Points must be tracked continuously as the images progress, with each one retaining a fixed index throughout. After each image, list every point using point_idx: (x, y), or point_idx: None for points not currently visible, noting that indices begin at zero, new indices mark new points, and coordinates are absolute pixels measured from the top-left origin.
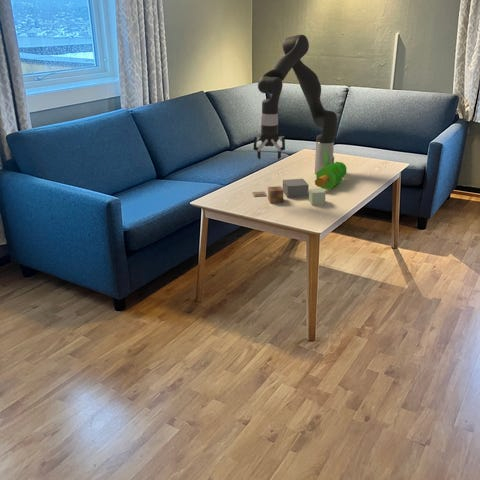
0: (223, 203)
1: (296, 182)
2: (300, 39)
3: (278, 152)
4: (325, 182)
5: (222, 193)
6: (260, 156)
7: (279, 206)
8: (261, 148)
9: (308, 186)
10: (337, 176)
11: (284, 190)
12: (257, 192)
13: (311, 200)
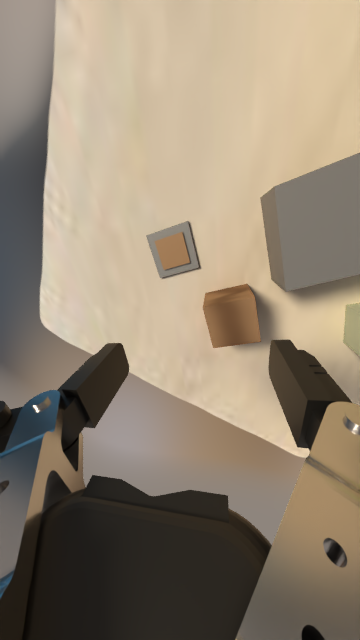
0: (99, 330)
1: (346, 228)
2: None
3: (301, 436)
4: None
5: (63, 253)
6: (118, 389)
7: (239, 348)
8: (80, 472)
9: None
10: None
11: (268, 232)
12: (164, 246)
13: (352, 342)
